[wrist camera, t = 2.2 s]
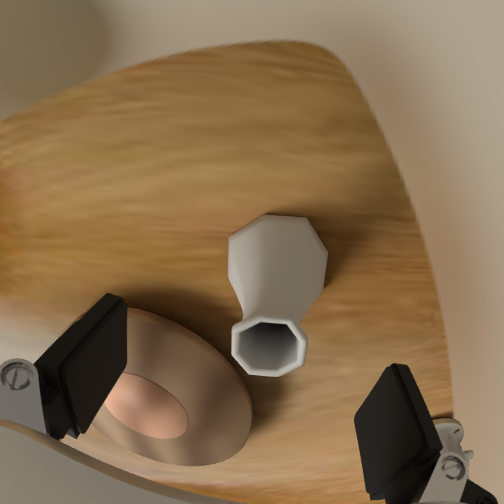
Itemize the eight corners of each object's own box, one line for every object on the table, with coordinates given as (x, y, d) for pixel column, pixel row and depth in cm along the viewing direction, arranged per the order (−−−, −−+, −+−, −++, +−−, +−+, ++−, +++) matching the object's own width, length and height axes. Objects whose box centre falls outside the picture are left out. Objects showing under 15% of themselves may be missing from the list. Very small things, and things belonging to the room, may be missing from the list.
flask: (316, 200, 19) (344, 244, 10) (336, 296, 21) (364, 392, 12) (213, 226, 21) (155, 287, 11) (242, 316, 23) (215, 414, 13)
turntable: (280, 349, 22) (279, 365, 20) (229, 469, 28) (227, 482, 26) (56, 275, 22) (42, 284, 20) (77, 414, 29) (71, 423, 27)
